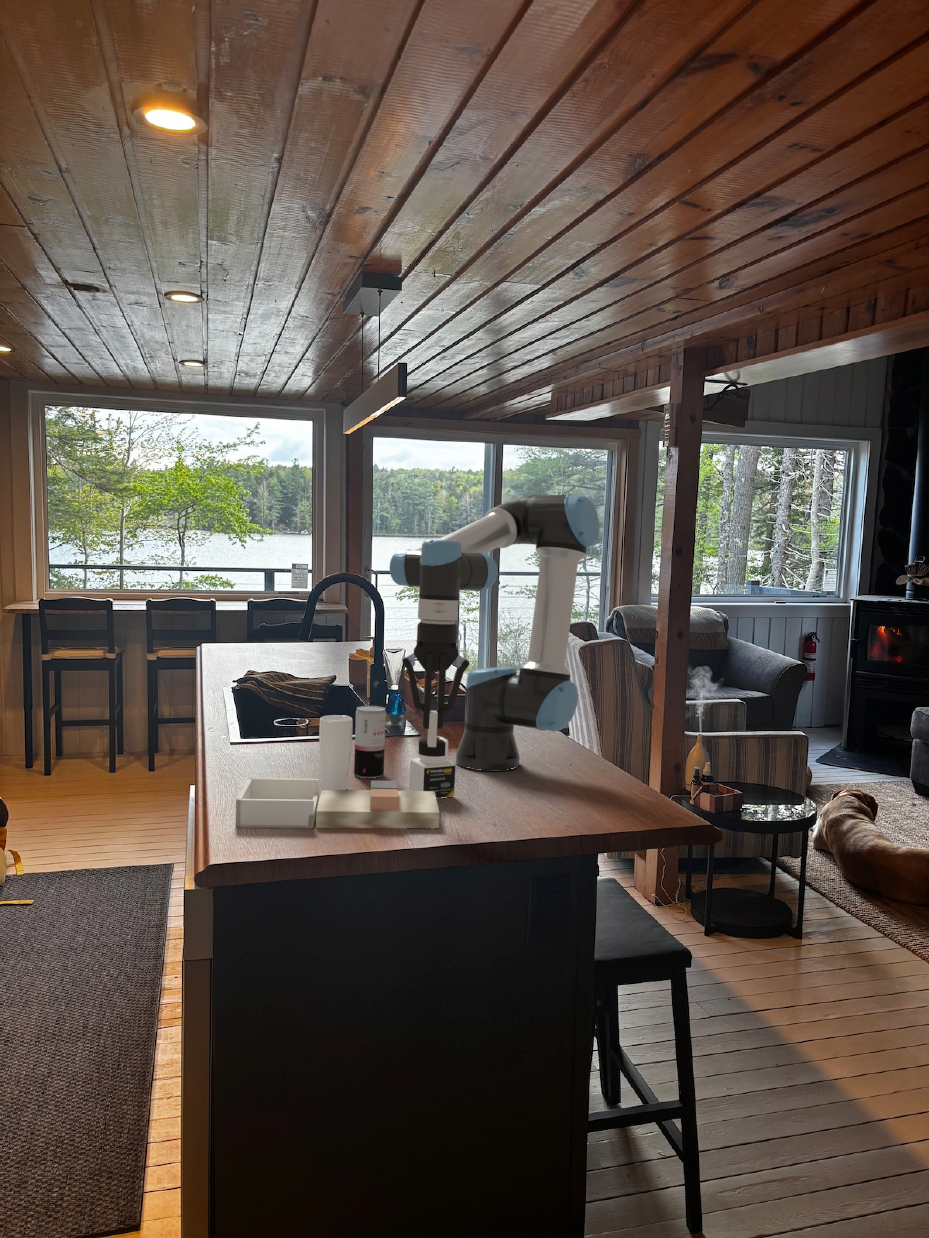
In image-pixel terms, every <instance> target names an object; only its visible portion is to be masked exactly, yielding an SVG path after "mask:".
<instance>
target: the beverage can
mask: <svg viewBox="0 0 929 1238" xmlns="http://www.w3.org/2000/svg"><path fill="white" fill-rule="evenodd" d="M386 717H387V711H386V707H383V706H378V705H362V706H357V707H356V711H355V733H354V759H353V760H354V761H353V762H354V764H353V766H354V767H353V774H354V776H356V777H357V778H359V777H360V779H365V778H374V779H377V778H376V777H379V778H380V777H382V776H383V775H384V774H385V773H384V772H385V750H386V749H385V747H386V719H387V718H386Z"/></svg>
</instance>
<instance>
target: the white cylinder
mask: <svg viewBox="0 0 929 1238" xmlns="http://www.w3.org/2000/svg"><path fill="white" fill-rule="evenodd" d="M353 725H354V723H353V718H352V717H351V716H349V715H340V714H339V715H338V714H337V715H336V714H333V715H331V714H330V715H323V716H321V717H320V719H319V730H318V731H319V732H318V734H319V735H318V738H319V739H318V740H319V755H320V756H319V757H320V773H321V774H320V777H321V780H320V781H321V784H320V786H321V790H348V779H349V771H350V770H349V769H350V761H351V760H350V759H351V752H352V745H353V731H354V730H353V727H354V726H353Z"/></svg>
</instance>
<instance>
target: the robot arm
mask: <svg viewBox="0 0 929 1238" xmlns="http://www.w3.org/2000/svg"><path fill="white" fill-rule="evenodd" d="M599 533H600V518H599V514H598V511H597V510H596V506H595V505H594V503H593V501H592V499H590V498H588V497H587V496H584V495H577V494H571V493H570V494H569V493H567V494H549V495H548V494H546V495H545V494H543V495H542V494H540V495H538V494H529V495H524V496H520V497H517V498H514V499H511V500H508V501H506V502H504V503H501V504H498V505H496V506H495V507H493V508H490V509H489V510H488V511H486V512H485V513H484V514H483V517H482V518H479V519H478V520H476V521H474V522H471V523H470V524H467V525H466V526H463V527H461V528H460V529H457V530H454V531H453V532H451V533H449V534H447V535H445V536H443V537H440V538H439V539H426V540H424V541H423V542H422V544H421V547H420V548H417V549H411V548H410V549H401V550H398V551H396V552H394V554H393V555H392V556H391V559H390V561H389V573H390V577H391V579H392V580H393V582H394V583H395V584H396V585H399V586H404V587H408V588H419V594H418V603H417V605H418V609H417V619H418V620H419V621H420V622H418V623H417V626H416V627H417V629H416V631H417V632H416V645H415V647H414V649H413V652H412V653H411V654H409V655H408V656H403V657H402V658H401V661H402V664H403V665H404V667H405V669H406V670H407V675H408V680H409V681H408V682H409V686H410V690H411V691H410V692H411V695H412V700H413V701H412V702H413V706H414V708H415V709H417V710H421V711H422V727H423V729H425V730H426V729H427V736H428V743H427V744H428V747H436V739H437V736H438V734H437V733H438V730H442V729H443V727H444V715H445V712H447V711H449V710H453V709H454V706H455V703H456V700H457V696H458V693H459V691H460V690H459V689H460V686H461V682H462V680H463V676H464V672H465V671H466V670H467V669H468V668H469V666H470V661H469V660H468V659H467V658H464V657H463V656H461V655H460V654H459V653H460V652H459V650H458V647H457V642H458V641H457V637H458V625H457V624H456V623H455V622H457V621H458V619H459V618H458V616H459V594H460V591H472V592H478V593H479V592H481V591H486V590H488V589H491V588H492V587H493V585H495V583H496V582H497V581H496V580H497V578H498V565H497V563H496V560H494V558H493V557H492V556H490V555H489V554H488V553H489V552H491V551H493V550H495V549H498V548H499V549H504V548H509V547H510V546H513V545H533V546H534V545H535V551H536V553H537V555H538V556H539V557H540V564H539V572H538V577H537V578H538V579H537V586H536V595H535V602H534V611H533V617H532V618H533V619H532V625H531V631H530V632H531V634H530V641H529V649H528V656H527V661H526V662H525V663H523V664H522V665H521V666H520V668H519V674H518V672H517V669H516V667H513V666H500V667H498V666H497V667H496V666H495V667H485V668H484V667H483V668H477V669H476V668H475V669H472V670H470V671H469V672H468V673H467V676H466V684H465V685H466V686H465V707H464V708H465V710H464V731H463V734H462V737H461V739H460V742H459V744H458V748H457V751H456V754H455V764H456V763H458V764H460V765H461V766H464V767H470V768H474V769H481V770H507V769H511V768H514V767H517V766H518V765H519V766H520V759H521V758H520V753H519V749H518V746H517V742H516V738H515V735H514V727H515V726H518V727H523V728H530V729H535V730H539V731H545V732H546V731H550V732H558V731H562V730H564V729H565V728H566V727H567V726H568V724H569V723H570V722H571V721H572V719H573V717H574V714H575V713H576V709H577V706H578V701H579V694H578V688H577V685H576V684H575V682H573V681H571V675H572V674H571V672H570V671H569V669H568V668H567V667H566V661H567V652H568V646H569V645H568V644H569V638H570V628H571V623H572V620H571V619H572V614H573V607H574V598H575V592H576V591H575V590H576V581H577V574H578V569H579V568H578V567H579V566H578V565H579V563H580V561H582V560H583V559H584V558H585V557H587V548H591V547H593V546H595V544H596V543H597V540H598V538H599V536H600V535H599ZM415 659H416V660H417V661H418V663H419V665H420V666H421V667H422V668H423V670H424V682H423V684H424V685H423V701H421V699H420V693H419V688H418V683H417V679H416V678H417V677H416V673H415V669H414V666H416V661H415ZM455 661H456V663H455V667H456V669H455V670H456V671H455V673H454V676H453V678H452V679H453V680H452V683H451V687H450V691H449V694H448V697H447V700H446V702H445V696H446V695H445V693H446V677H447V675H446V673H447V671H448V670H449V668H450V667H451V666H452V665H453V663H454V662H455ZM434 671H435V672H437V692H436V693H437V694H436V696H437V697H436V698H437V699H436V710H431V702H432V701H431V700H432V681H433V679H432V678H433V672H434ZM461 766H460V767H461ZM464 767H463V768H464ZM517 768H518V767H517ZM507 771H508V770H507Z"/></svg>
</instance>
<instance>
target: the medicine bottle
mask: <svg viewBox="0 0 929 1238" xmlns="http://www.w3.org/2000/svg"><path fill="white" fill-rule="evenodd" d="M427 743H428V735H426V736H423V737H421V738H420V739H419V740H418V756H417V757H414V758H411V759H410V760H409V761H410V764H409V784H408V785H409V787H408V789H409V790H408V791H435V795H436V798H441V797H453V796H454V797H455V785H456V784H455V783H456V763H454V762H452V761H450V760H448V755H449V740H448V739H447V738H444V737H443V736H439V735H437V739H436V747H428V744H427ZM454 797H453V798H454Z"/></svg>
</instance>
